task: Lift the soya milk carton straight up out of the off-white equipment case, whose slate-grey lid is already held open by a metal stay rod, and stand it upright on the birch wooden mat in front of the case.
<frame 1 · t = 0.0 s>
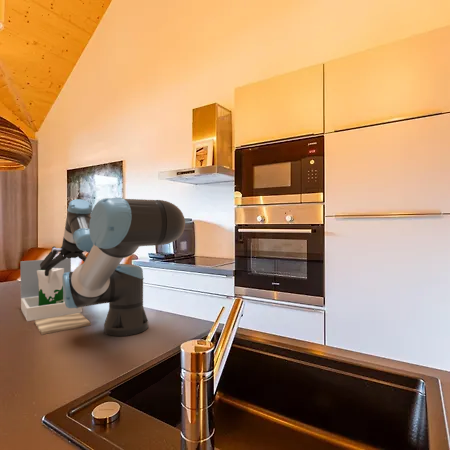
hand: (67, 278, 129), 15 cm above the worktop, tool tilted 35°, fingers open, 13 cm apart
equipment case: (51, 310, 137), on the worktop
soya milk: (51, 311, 137), resting in equipment case
wooden mat: (62, 324, 120), on the worktop
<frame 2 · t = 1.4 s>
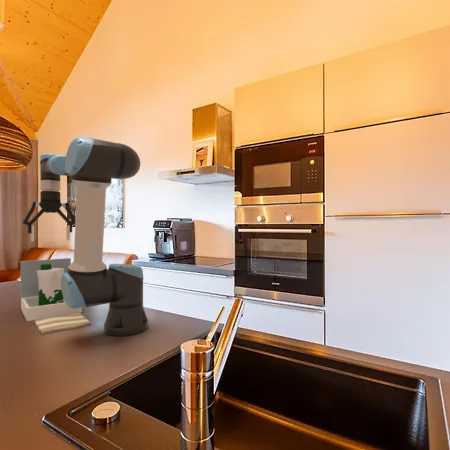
hand: (50, 240, 137), 30 cm above the worktop, tool pointing down, fingers open, 13 cm apart
nothing on the worktop moved.
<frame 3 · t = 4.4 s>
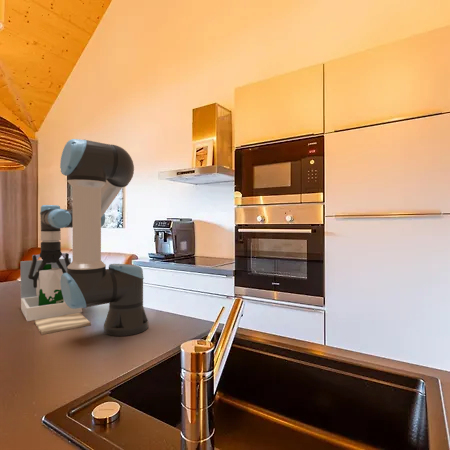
hand: (51, 293, 137), 8 cm above the worktop, tool pointing down, fingers closed on soya milk, 9 cm apart
soya milk: (51, 311, 137), resting in equipment case, touching gripper
everything else where it was.
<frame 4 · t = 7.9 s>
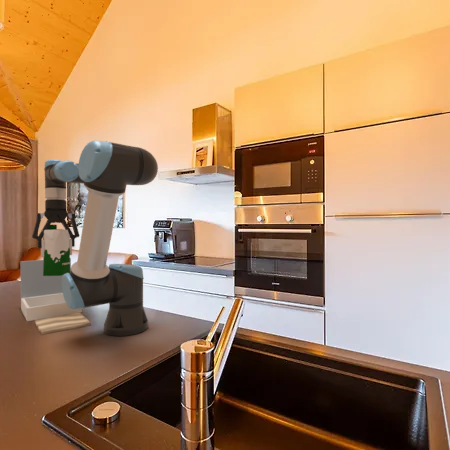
hand: (56, 255, 127), 25 cm above the worktop, tool pointing down, fingers closed on soya milk, 9 cm apart
soya milk: (57, 275, 127), point 17 cm above the worktop, touching gripper
everything else where it was.
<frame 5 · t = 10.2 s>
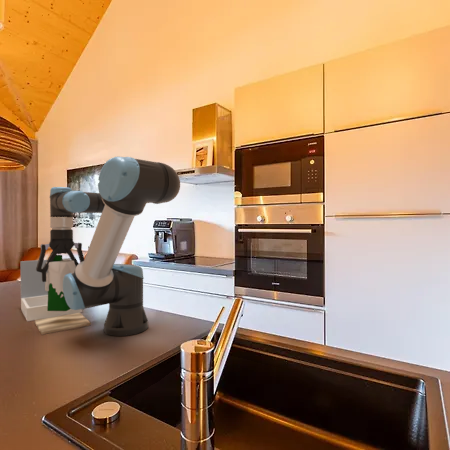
hand: (62, 288, 120), 13 cm above the worktop, tool pointing down, fingers closed on soya milk, 9 cm apart
soya milk: (62, 309, 120), point 6 cm above the worktop, touching gripper
everything else where it was.
when the fingers open (9 cm above the worktop, at t = 11.9 s): soya milk stays where it is, resting on wooden mat.
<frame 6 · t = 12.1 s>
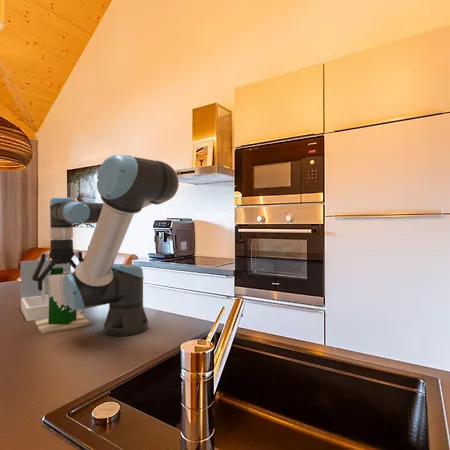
hand: (62, 296, 120), 10 cm above the worktop, tool pointing down, fingers open, 12 cm apart
soya milk: (63, 321, 120), point 1 cm above the worktop, touching wooden mat
everything else where it was.
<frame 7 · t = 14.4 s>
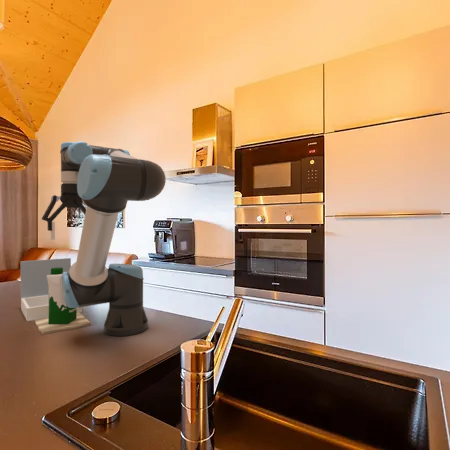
hand: (72, 239, 123), 32 cm above the worktop, tool pointing down, fingers open, 13 cm apart
nothing on the worktop moved.
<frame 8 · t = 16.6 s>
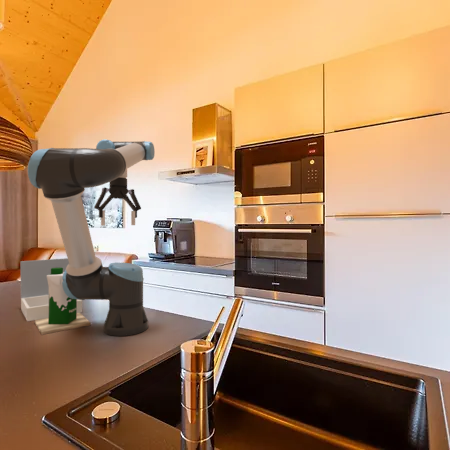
hand: (118, 225, 143), 37 cm above the worktop, tool pointing down, fingers open, 13 cm apart
nothing on the worktop moved.
at the end: soya milk inside the target area on the wooden mat (0.2 cm from its centre), point 0.8 cm above the wooden mat's base; soya milk tilted 0°; the gripper is holding nothing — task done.
